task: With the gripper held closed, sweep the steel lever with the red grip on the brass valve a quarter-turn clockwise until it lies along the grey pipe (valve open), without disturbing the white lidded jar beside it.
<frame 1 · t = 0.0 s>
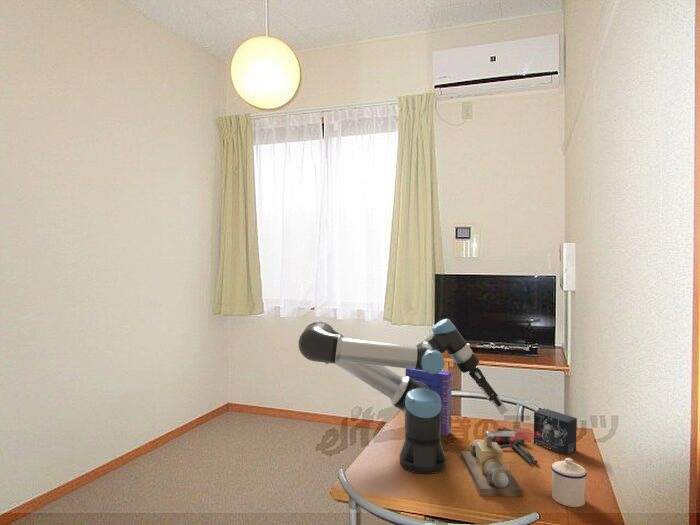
hand: (498, 406, 168), 15 cm above the table, tool tilted 35°, fingers open, 13 cm apart
cereal box: (427, 430, 185), on the table
valve lever: (508, 433, 147), point 13 cm above the table, hinge at 0.0°
white lidded jar: (565, 497, 135), on the table
valve stand: (488, 474, 148), on the table
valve: (509, 451, 167), on the table
small box: (554, 447, 170), on the table
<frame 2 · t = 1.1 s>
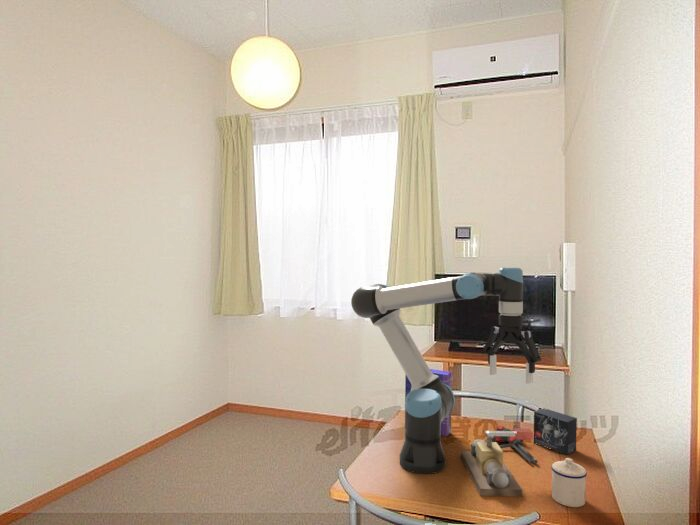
hand: (510, 378, 155), 29 cm above the table, tool pointing down, fingers open, 13 cm apart
nothing on the table moved.
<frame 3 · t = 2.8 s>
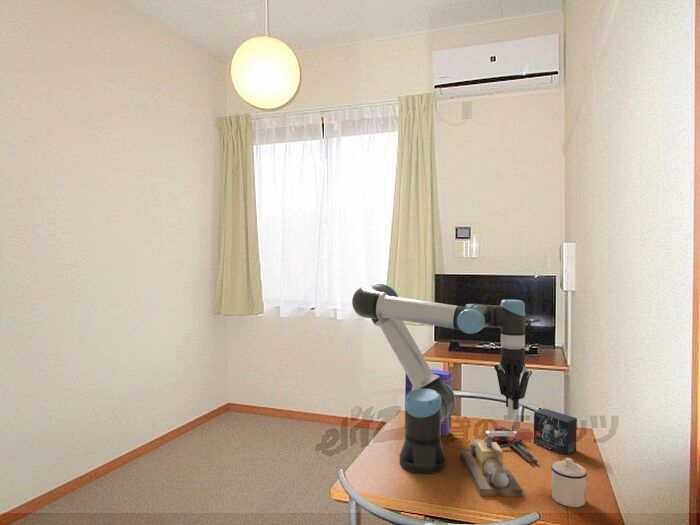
hand: (512, 418, 154), 16 cm above the table, tool pointing down, fingers closed
nothing on the table moved.
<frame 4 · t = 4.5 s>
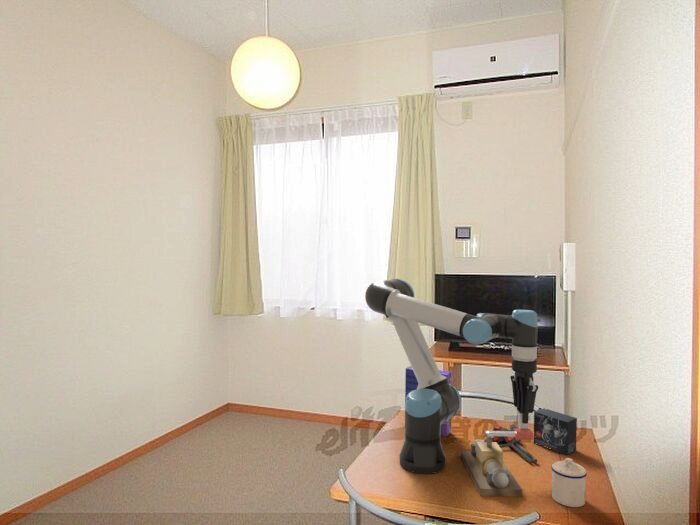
hand: (522, 432, 149), 13 cm above the table, tool pointing down, fingers closed
valve lever: (508, 433, 147), point 13 cm above the table, hinge at -0.6°, touching gripper
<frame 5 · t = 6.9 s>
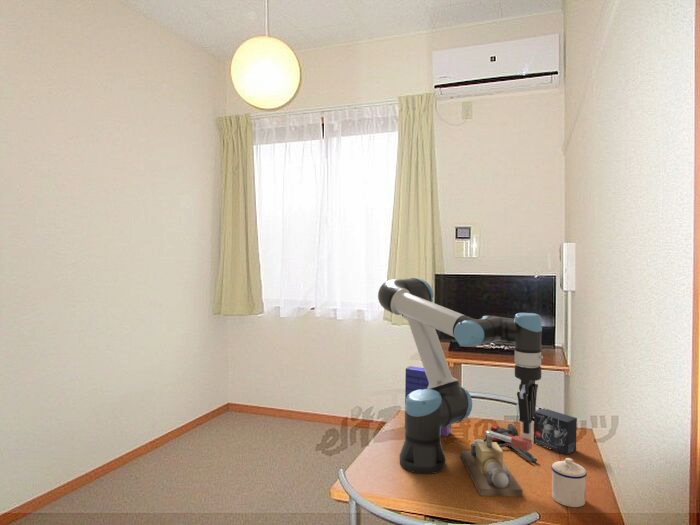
hand: (527, 442, 141), 13 cm above the table, tool pointing down, fingers closed
valve lever: (506, 438, 143), point 13 cm above the table, hinge at -44.6°, touching gripper
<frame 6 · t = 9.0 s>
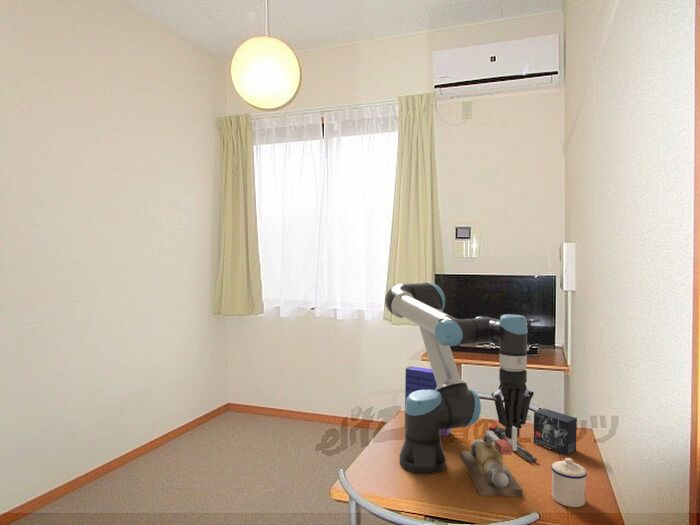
hand: (511, 448, 136), 13 cm above the table, tool pointing down, fingers closed
valve lever: (496, 440, 142), point 13 cm above the table, hinge at -84.2°, touching gripper
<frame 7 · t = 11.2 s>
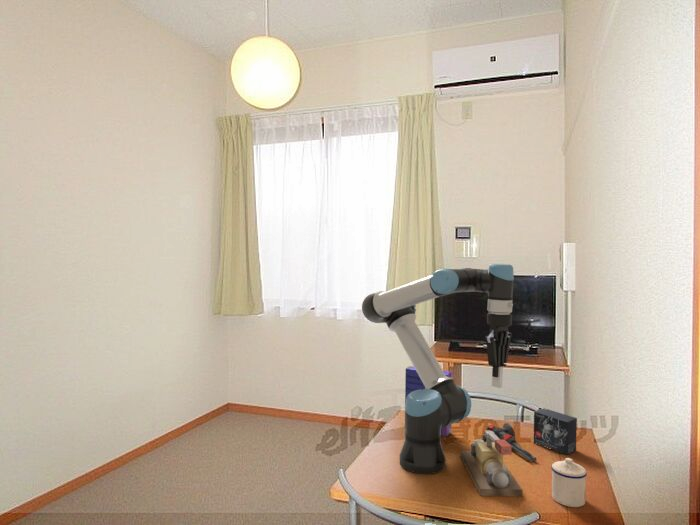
hand: (496, 386, 149), 28 cm above the table, tool pointing down, fingers closed
valve lever: (496, 440, 142), point 13 cm above the table, hinge at -84.3°
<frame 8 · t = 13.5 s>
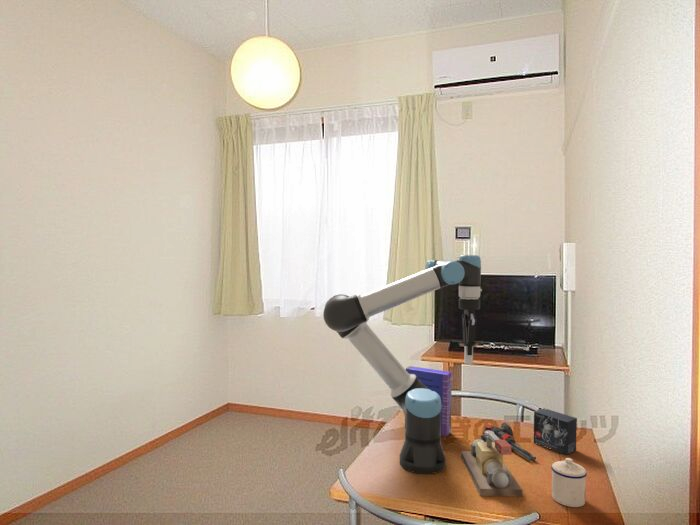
hand: (468, 363, 168), 30 cm above the table, tool pointing down, fingers closed
at the end: valve lever at -84° (first picture: +0°); white lidded jar moved 0.2 cm from its start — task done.
